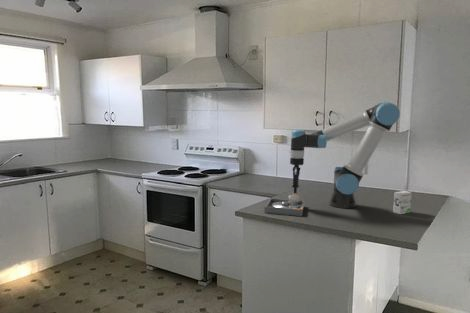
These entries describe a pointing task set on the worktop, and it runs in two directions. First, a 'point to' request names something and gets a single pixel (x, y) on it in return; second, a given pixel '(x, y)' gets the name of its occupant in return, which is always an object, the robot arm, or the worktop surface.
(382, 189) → the worktop surface
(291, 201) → the dial
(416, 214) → the worktop surface
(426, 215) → the worktop surface
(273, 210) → the grey square tray
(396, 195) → the ink box
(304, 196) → the worktop surface
